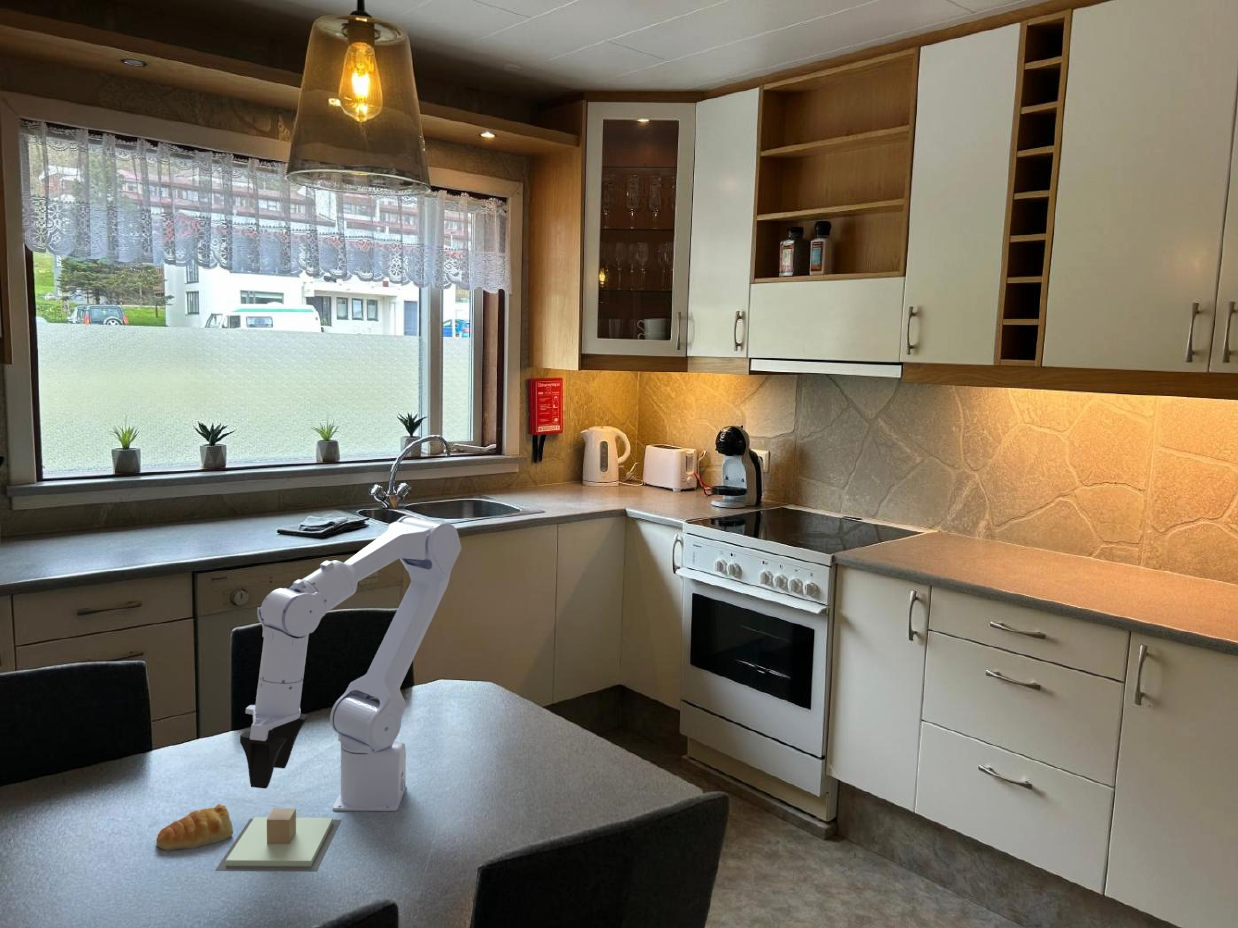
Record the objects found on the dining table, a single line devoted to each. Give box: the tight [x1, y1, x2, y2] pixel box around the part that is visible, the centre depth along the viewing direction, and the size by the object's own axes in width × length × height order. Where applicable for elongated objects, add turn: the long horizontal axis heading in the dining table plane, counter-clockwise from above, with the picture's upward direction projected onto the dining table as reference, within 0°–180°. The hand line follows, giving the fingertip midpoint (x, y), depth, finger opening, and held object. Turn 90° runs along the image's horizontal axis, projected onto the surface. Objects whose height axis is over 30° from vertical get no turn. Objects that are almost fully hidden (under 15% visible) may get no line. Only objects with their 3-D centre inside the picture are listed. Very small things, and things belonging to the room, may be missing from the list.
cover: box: [226, 807, 334, 866], centre depth 125 cm, size 11×11×4 cm
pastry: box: [155, 803, 234, 851], centre depth 126 cm, size 9×7×4 cm
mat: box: [214, 818, 342, 872], centre depth 126 cm, size 13×13×1 cm
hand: (268, 776), depth 124 cm, fingers open, 7 cm apart
